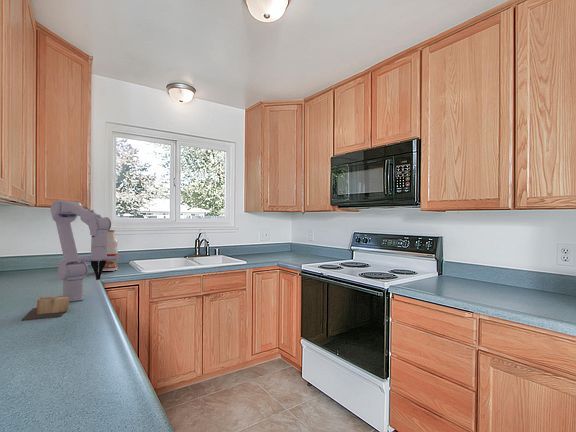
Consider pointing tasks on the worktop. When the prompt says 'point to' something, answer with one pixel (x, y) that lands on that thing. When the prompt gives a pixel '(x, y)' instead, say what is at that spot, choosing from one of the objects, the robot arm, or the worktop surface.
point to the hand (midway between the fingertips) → (98, 279)
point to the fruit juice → (111, 251)
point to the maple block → (52, 304)
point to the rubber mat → (40, 315)
